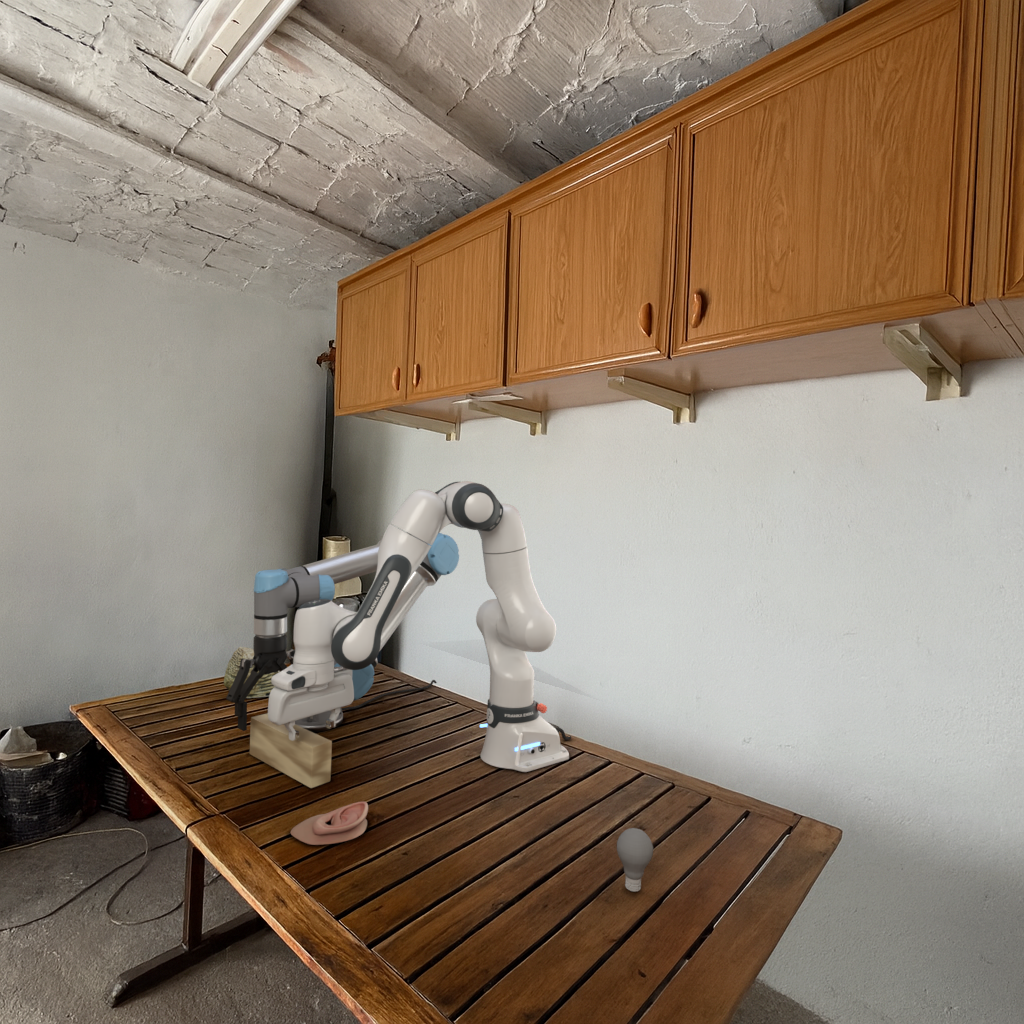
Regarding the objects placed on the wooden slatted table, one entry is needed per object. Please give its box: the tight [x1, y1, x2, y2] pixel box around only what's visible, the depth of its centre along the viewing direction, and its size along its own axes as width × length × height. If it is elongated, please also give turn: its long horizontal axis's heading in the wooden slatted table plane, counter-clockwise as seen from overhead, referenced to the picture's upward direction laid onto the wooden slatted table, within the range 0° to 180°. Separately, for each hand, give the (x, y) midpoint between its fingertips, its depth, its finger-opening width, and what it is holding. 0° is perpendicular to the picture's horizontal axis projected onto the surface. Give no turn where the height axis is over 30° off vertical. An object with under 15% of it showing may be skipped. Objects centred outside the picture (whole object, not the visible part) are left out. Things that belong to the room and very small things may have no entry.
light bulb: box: [616, 827, 654, 893], centre depth 106 cm, size 6×6×10 cm
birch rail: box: [249, 712, 333, 789], centre depth 147 cm, size 5×26×9 cm, turn 51°
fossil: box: [223, 646, 280, 699], centre depth 198 cm, size 9×18×15 cm, turn 132°
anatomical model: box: [290, 801, 369, 846], centre depth 120 cm, size 13×4×12 cm
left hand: (269, 721), depth 153 cm, fingers open, 13 cm apart
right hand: (312, 733), depth 142 cm, fingers open, 8 cm apart
